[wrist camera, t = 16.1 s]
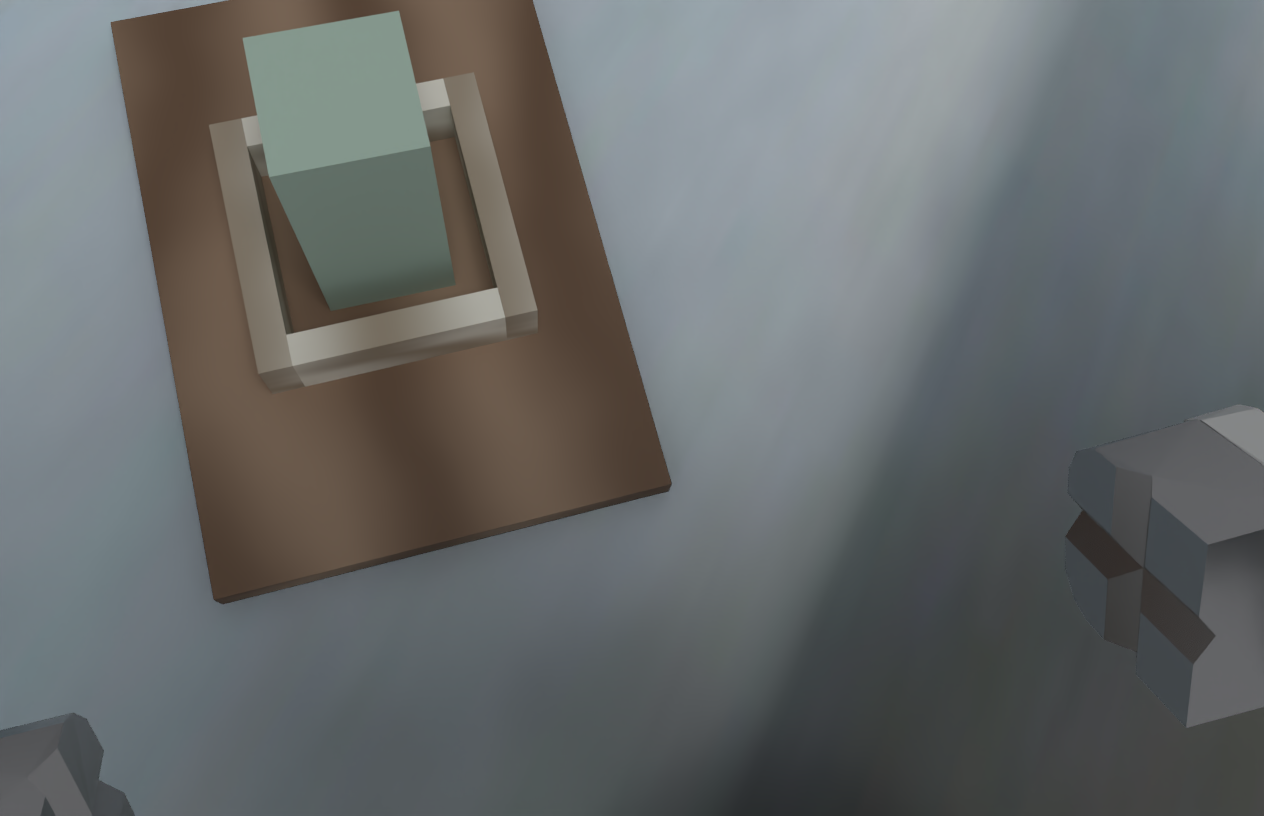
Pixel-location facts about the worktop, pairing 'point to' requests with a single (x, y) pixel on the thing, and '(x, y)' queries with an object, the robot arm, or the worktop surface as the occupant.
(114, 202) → the worktop surface
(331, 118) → the green block
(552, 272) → the walnut board
